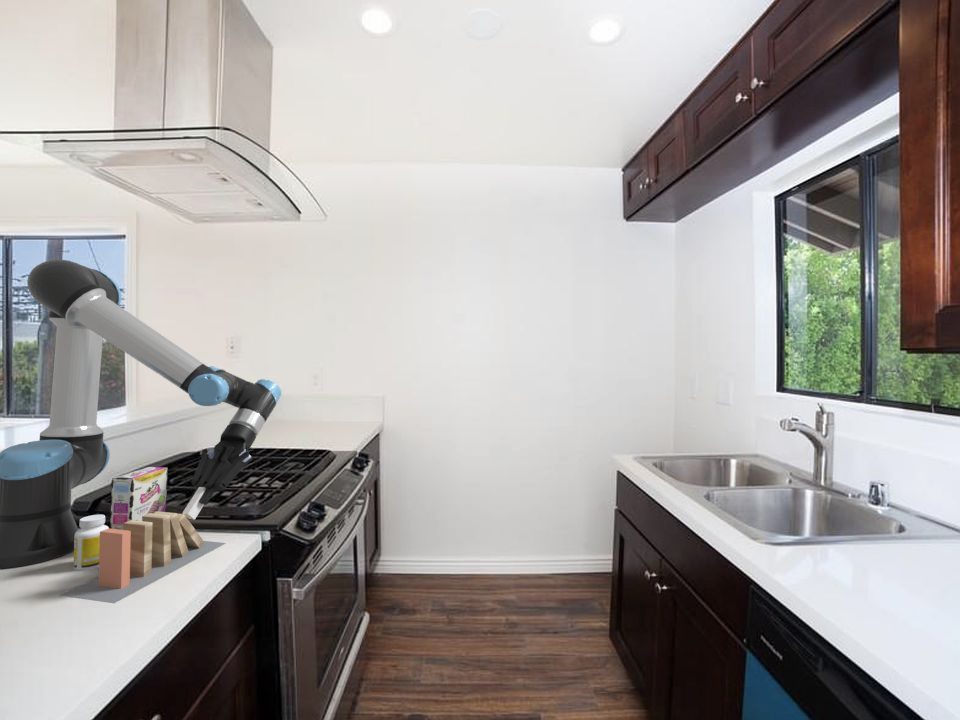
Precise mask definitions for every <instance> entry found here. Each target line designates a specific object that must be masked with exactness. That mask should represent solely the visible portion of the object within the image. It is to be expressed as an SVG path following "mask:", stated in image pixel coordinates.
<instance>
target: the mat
mask: <svg viewBox="0 0 960 720" xmlns="http://www.w3.org/2000/svg"><path fill="white" fill-rule="evenodd" d="M203 541H204V543H203V545H202V546H201V547H200V548H191V547H187V548H188V553H187V554H186V555H184V556H183V557H177V556H171V563H170V564H168V565H166V566H156V565H152V567H151V574H149V575H147V576H145V577H140V576H132V575H130V584H129V585H127V586H125V587H123V588H113V587H105V586H99V576H96V577H94V578H92V579H90V580H88V581H86V582H84V583H81V584H79V585H76V586H75V587H73V588H71V589H68V590H65V591H64V592H62V593H59V594H58V596H61V597H67V598H68V597H69V598H75V599H82V600H89V601H97V602H104V603H112V604H117V602H120V601H121V600H123V599H125V598H126V597H127V598H128V597H129V596H131V595H133V594H135V593H136V592H139V591H140V590H141V589H144V588H146V587H147V586H150V585H151V584H153V583H156V582H157V581H158V580H160V579H163V578H164V577H166V576H168V575H170V574H172V573H174V572H176V571H177V570H180V569H181V568H183V567H185V566H187V565H189V564H190V563H192V562H194V561H197V560H198V559H200V558H201V557H203V556H205V555H208V554H209V553H211V552H213V551H215V550H216V549H218V548H220V547H222V546H224V545H226V544H227V542H220V541H211V540H210V541H209V540H203Z"/></svg>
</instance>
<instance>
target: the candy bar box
mask: <svg viewBox="0 0 960 720" xmlns="http://www.w3.org/2000/svg"><path fill="white" fill-rule="evenodd" d="M168 470H169V469H168V467H164V466H163V467H162V466H161V467H160V466H147V467H144V468H141V469H138V470H135V471H131V472H128V473H124V474H121V475H117V476H114V477H112V478H111V495H110V496H111V498H110V500H111V502H110V520H109V522H110V524H109V526H110V527H109V529H118V530H123V523H125V522H128V521H130V520H134V521H142V516H144V515H146V514H149V513H151V514H153V513H155V512H156V511H158V512H167V495H168V494H167V493H168V492H167V487H168V472H169V471H168Z"/></svg>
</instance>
